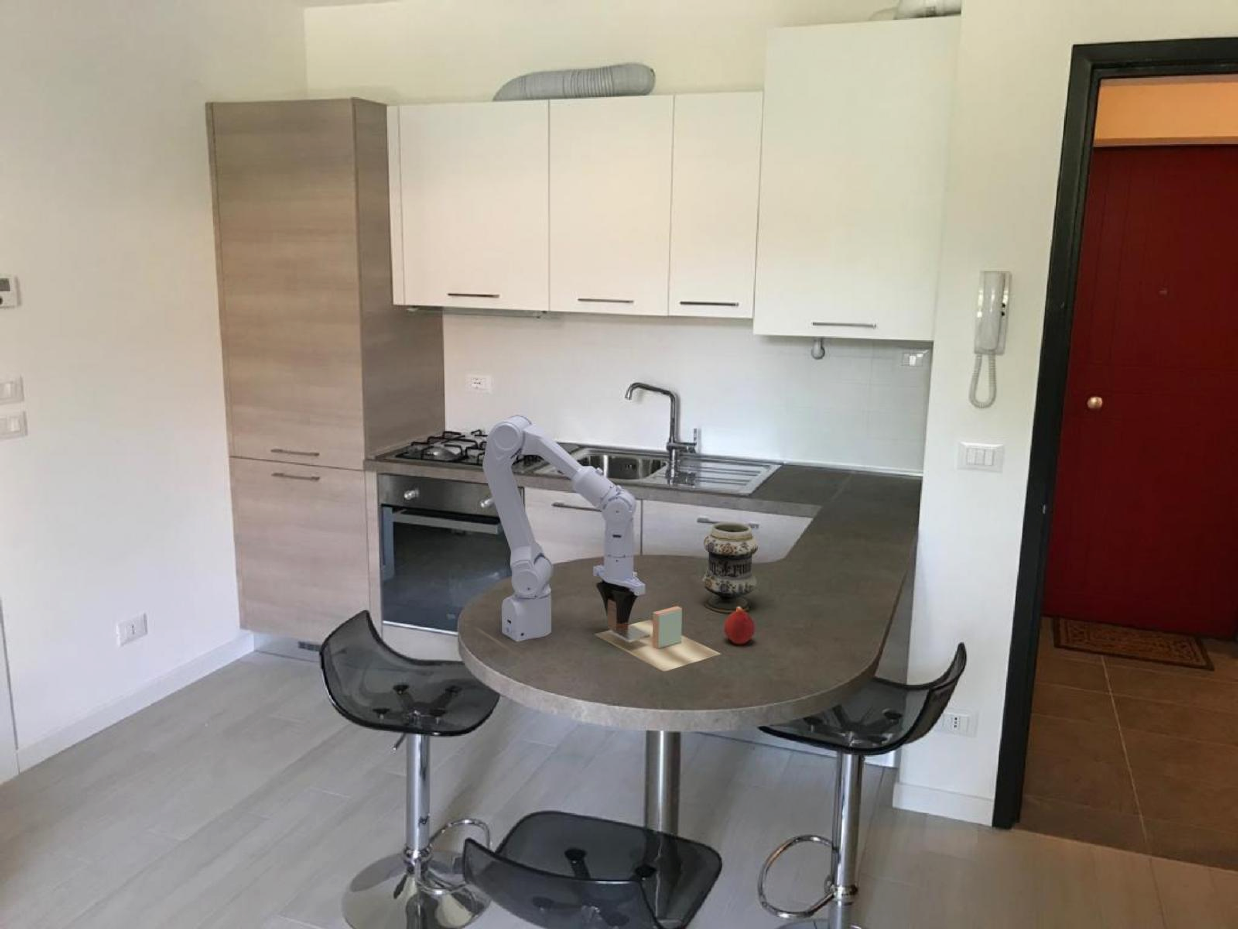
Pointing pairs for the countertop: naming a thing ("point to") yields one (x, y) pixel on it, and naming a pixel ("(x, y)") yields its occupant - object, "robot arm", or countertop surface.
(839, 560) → the countertop surface
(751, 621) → the onion
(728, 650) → the countertop surface
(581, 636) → the countertop surface
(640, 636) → the bookend
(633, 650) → the board
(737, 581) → the apothecary jar
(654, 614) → the tile
